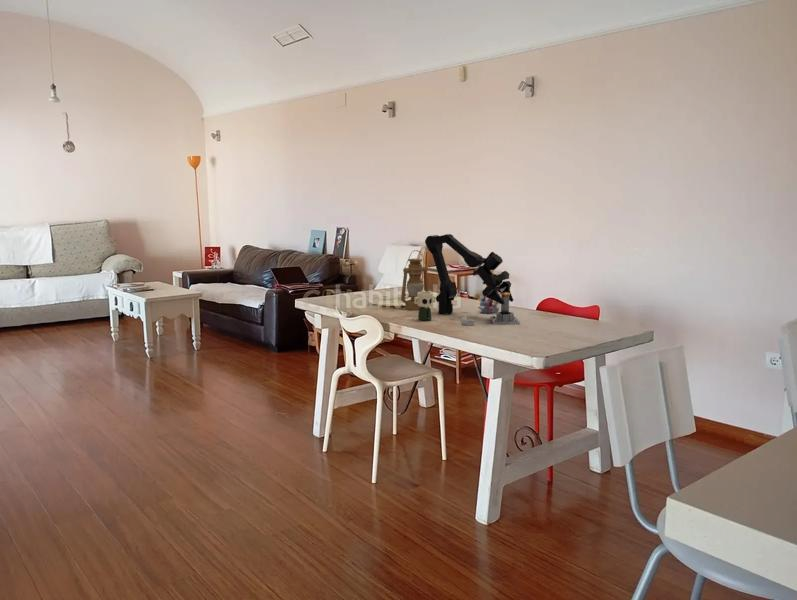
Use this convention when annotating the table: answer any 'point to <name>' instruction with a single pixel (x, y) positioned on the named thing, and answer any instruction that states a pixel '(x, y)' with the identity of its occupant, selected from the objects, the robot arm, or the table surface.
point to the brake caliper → (488, 305)
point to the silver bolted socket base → (504, 318)
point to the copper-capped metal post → (505, 302)
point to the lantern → (414, 282)
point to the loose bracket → (467, 321)
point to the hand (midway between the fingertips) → (508, 302)
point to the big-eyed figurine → (424, 304)
